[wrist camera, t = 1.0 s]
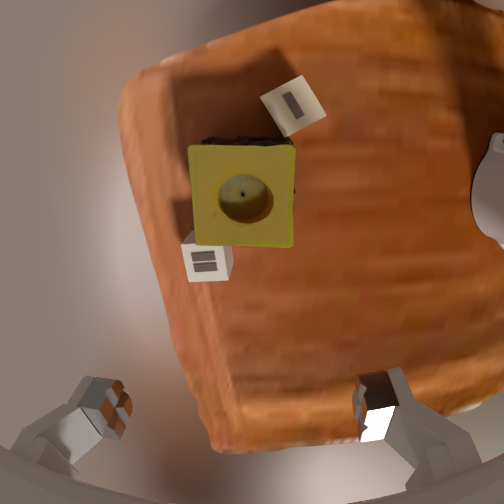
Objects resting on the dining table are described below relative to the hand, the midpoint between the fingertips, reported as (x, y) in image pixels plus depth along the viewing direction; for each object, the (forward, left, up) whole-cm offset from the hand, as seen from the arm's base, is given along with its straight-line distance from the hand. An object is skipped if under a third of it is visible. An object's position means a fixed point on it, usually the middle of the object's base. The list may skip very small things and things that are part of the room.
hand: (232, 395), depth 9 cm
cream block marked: (+9, +5, -31) cm, 32 cm away
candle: (+1, -2, -31) cm, 31 cm away
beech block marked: (-6, -9, -31) cm, 32 cm away
